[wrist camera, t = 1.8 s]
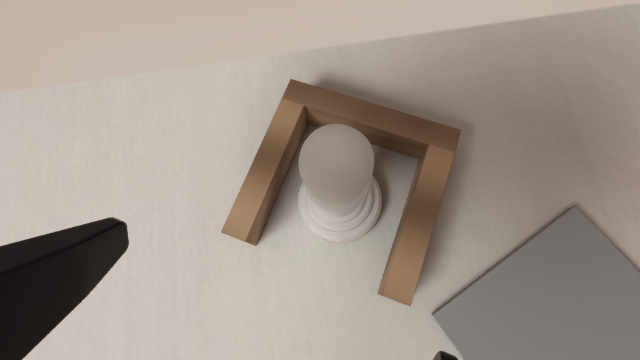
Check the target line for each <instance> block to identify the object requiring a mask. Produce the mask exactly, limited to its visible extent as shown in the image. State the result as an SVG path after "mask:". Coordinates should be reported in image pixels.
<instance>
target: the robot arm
mask: <svg viewBox="0 0 640 360" xmlns="http://www.w3.org/2000/svg"><path fill="white" fill-rule="evenodd" d="M128 245H129V240H128V231H127V225H126V223H125V222H124V221H121V220H119V219H116V218H106V219H102V220H99V221H95V222H91V223H87V224H83V225H80V226H76V227H72V228H68V229H64V230H61V231H57V232H53V233H49V234H45V235H41V236H38V237H34V238H30V239H26V240H22V241H19V242H15V243H11V244H7V245H3V246H0V360H22V359H23V358H24V357H25V356H26V355H27V354H28V353H29V352H30V351H31V350H32V349H33V348H34V347H35V346H37V345H38V344H39V343H40V342H41V341H42V340H43V339H44V338H45V337H46V336H47V335H48V334H49V333H50V332H51V331H52V330H53V329H54V328H55V327H56V326H57V325H58V324H59V323H60V322H61V321H62V320H63V319H64V318H65V317H66V316H67V315H68V314H69V313H70V312H71V311H72V310H73V309H74V308H75V307H77V306H78V305H79V304H80V303H81V302H82V301H83V300H84V299H85V298H86V296H87V295H88V294H89V293H90V292H91V291H92V290H93V289H94V288H95V287H96V285H97V284H98V283H99V282H100V281H101V280H102V278H103V277H104V276H105V275H106V274H107V273H108V271H109V270H110V269H111V268H112V267H113V266H114V264H115V263H116V262H117V261H118V260H119V259H120V257H121V256H122V255H123V254H124V253H125V251H126V250H127V248H128ZM433 360H458V359H457V358H456V357H455V356H453V355H451V354H448V353H446V352H444V351H439V352H438V353H437V354H436V356H435V357H434V359H433Z"/></svg>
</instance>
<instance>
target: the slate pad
mask: <svg viewBox="0 0 640 360" xmlns="http://www.w3.org/2000/svg"><path fill="white" fill-rule="evenodd" d="M432 315H433V317H434V318H435V319H436V321H437V322H438V324H439V325H440V326H441V328H442V329H443V330H444V332H445V333H446V334H447V336H448V337H449V339H450V340H451V341H452V343H453V344H454V345H455V347H456V348H457V349H458V351H459V352H460V354H461V355H462V356H463V358H464V359H465V360H640V272H639V271H638V270H637V269H636V268H635V267H634V266H633V265H632V264H631V263H630V261H629V260H628V259H627V258H626V257H625V256H624V255H623V254H622V253H621V252H620V251H619V250H618V249H617V248H616V247H615V246H614V245H613V244H612V243H611V242H610V241H609V240H608V239H607V237H606V236H605V235H604V234H603V233H602V232H601V231H600V230H599V229H598V228H597V227H596V226H595V225H594V224H593V223H592V222H591V221H590V220H589V219H588V218H587V217H586V216H585V215H584V214H583V212H582V211H581V210H580V209H579V208H578V207H577V206H574V207H571V208H570V209H569V210H568V211H566V212H565V213H564V214H562V215H561V216H560V217H558V218H557V219H556V220H554V221H553V222H552V223H550V224H549V225H548V226H547V227H545V228H544V229H543V230H541V231H540V232H539V233H537V234H536V235H535V236H533V237H532V238H531V239H530V240H528V241H527V242H526V243H524V244H523V245H522V246H520V247H519V248H518V249H516V250H515V251H514V252H512V253H511V254H510V255H509V256H507V257H506V258H505V259H503V260H502V261H501V262H499V263H498V264H497V265H495V266H494V267H493V268H491V269H490V270H489V271H488V272H486V273H485V274H484V275H482V276H481V277H480V278H478V279H477V280H476V281H474V282H473V283H472V284H470V285H469V286H468V287H467V288H465V289H464V290H463V291H461V292H460V293H459V294H457V295H456V296H455V297H453V298H452V299H451V300H449V301H448V302H447V303H446V304H444V305H443V306H442V307H440V308H439V309H438V310H436V311H435V312H434V313H432Z"/></svg>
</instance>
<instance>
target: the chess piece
mask: <svg viewBox="0 0 640 360" xmlns="http://www.w3.org/2000/svg"><path fill="white" fill-rule="evenodd" d="M373 169H374V152H373V149H372V146H371V144H370V142H369V141H368V139H367V138H366V137H365V136H364V135H363V134H362V133H361V132H359V131H358V130H356V129H354V128H352V127H350V126H347V125H342V124H329V125H325V126H322V127H320V128H318V129H316V130H315V131H314V132H312V133H311V134H310V135H309V136H308V138H307V139H306V140H305V142H304V144H303V146H302V148H301V151H300V155H299V172H300V176H301V178H302V180H303V182H302V184H301V186H300V189H299V193H298V209H299V213H300V216H301V218H302V220H303V222H304V224H305V225H306V226H307V228H308V229H309V230H310V231H311V232H313V233H314V234H315V235H317V236H318V237H320V238H322V239H324V240H327V241H331V242H349V241H353V240H356V239H358V238H360V237H362V236H364V235H365V234H366V233H368V232H369V231H370V230H371V229H372V228H373V227H374V225H375V224H376V222H377V220H378V219H379V216H380V213H381V209H382V193H381V190H380V186H379V184H378V182H377V181H376V179H375V177H374V176H373V175H372V173H373Z"/></svg>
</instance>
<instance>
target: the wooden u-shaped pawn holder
mask: <svg viewBox="0 0 640 360" xmlns="http://www.w3.org/2000/svg"><path fill="white" fill-rule="evenodd" d="M307 124H311V125H314V126H317V127H322V126H325V125H329V124H342V125H347V126H350V127H352V128H354V129H356V130H358V131H359V132H361V133H362V134H363V135H364V136H365V137H366V138H367V139H368V141H369V142H370V144H374V145H377V146H380V147H383V148H386V149H389V150H392V151H395V152H399V153H402V154H405V155H408V156H411V157H414V158H417V159H420V160H419V163H418V167H417V170H416V173H415V176H414V179H413V182H412V186H411V189H410V192H409V195H408V198H407V201H406V205H405V208H404V211H403V214H402V217H401V221H400V224H399V227H398V230H397V233H396V236H395V240H394V243H393V246H392V249H391V252H390V255H389V259H388V262H387V265H386V268H385V271H384V274H383V278H382V281H381V284H380V287H379V290H378V294H380V295H382V296H385V297H388V298H390V299H393V300H395V301H398V302H400V303H403V304H406V305H408V306H411V303H412V300H413V296H414V293H415V289H416V286H417V282H418V279H419V275H420V272H421V268H422V265H423V261H424V258H425V254H426V251H427V247H428V244H429V241H430V237H431V234H432V230H433V227H434V223H435V220H436V216H437V213H438V209H439V206H440V202H441V199H442V195H443V192H444V188H445V185H446V181H447V178H448V174H449V171H450V167H451V164H452V160H453V157H454V153H455V150H456V146H457V143H458V139H459V136H460V132H461V130H459V129H455V128H452V127H449V126H445V125H442V124H439V123H436V122H432V121H429V120H426V119H422V118H419V117H416V116H412V115H409V114H406V113H402V112H399V111H396V110H392V109H389V108H386V107H382V106H379V105H376V104H372V103H369V102H366V101H362V100H359V99H356V98H352V97H349V96H346V95H342V94H339V93H336V92H332V91H329V90H326V89H322V88H319V87H316V86H312V85H309V84H306V83H302V82H299V81H296V80H292V79H291V80H290V82H289V84H288V86H287V88H286V91H285V93H284V95H283V97H282V99H281V102H280V104H279V106H278V108H277V110H276V113H275V115H274V117H273V119H272V121H271V124H270V126H269V128H268V130H267V132H266V135H265V137H264V139H263V141H262V143H261V145H260V148H259V150H258V152H257V154H256V156H255V159H254V161H253V163H252V165H251V167H250V170H249V172H248V174H247V176H246V178H245V181H244V183H243V185H242V187H241V189H240V192H239V194H238V196H237V198H236V200H235V203H234V205H233V207H232V209H231V211H230V214H229V216H228V218H227V220H226V222H225V225H224V227H223V229H222V231H221V232H222V233H225V234H227V235H230V236H232V237H235V238H237V239H240V240H242V241H245V242H247V243H250V244H252V245H255V246H256V244H257V242H258V239H259V237H260V235H261V232H262V230H263V228H264V225H265V223H266V220H267V218H268V216H269V213H270V211H271V209H272V206H273V204H274V202H275V199H276V197H277V194H278V192H279V190H280V187H281V185H282V183H283V180H284V178H285V176H286V173H287V171H288V168H289V166H290V164H291V161H292V159H293V157H294V154H295V152H296V150H297V147H298V145H299V142H300V140H301V138H302V135H303V133H304V131H305V128H306V126H307Z"/></svg>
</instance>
